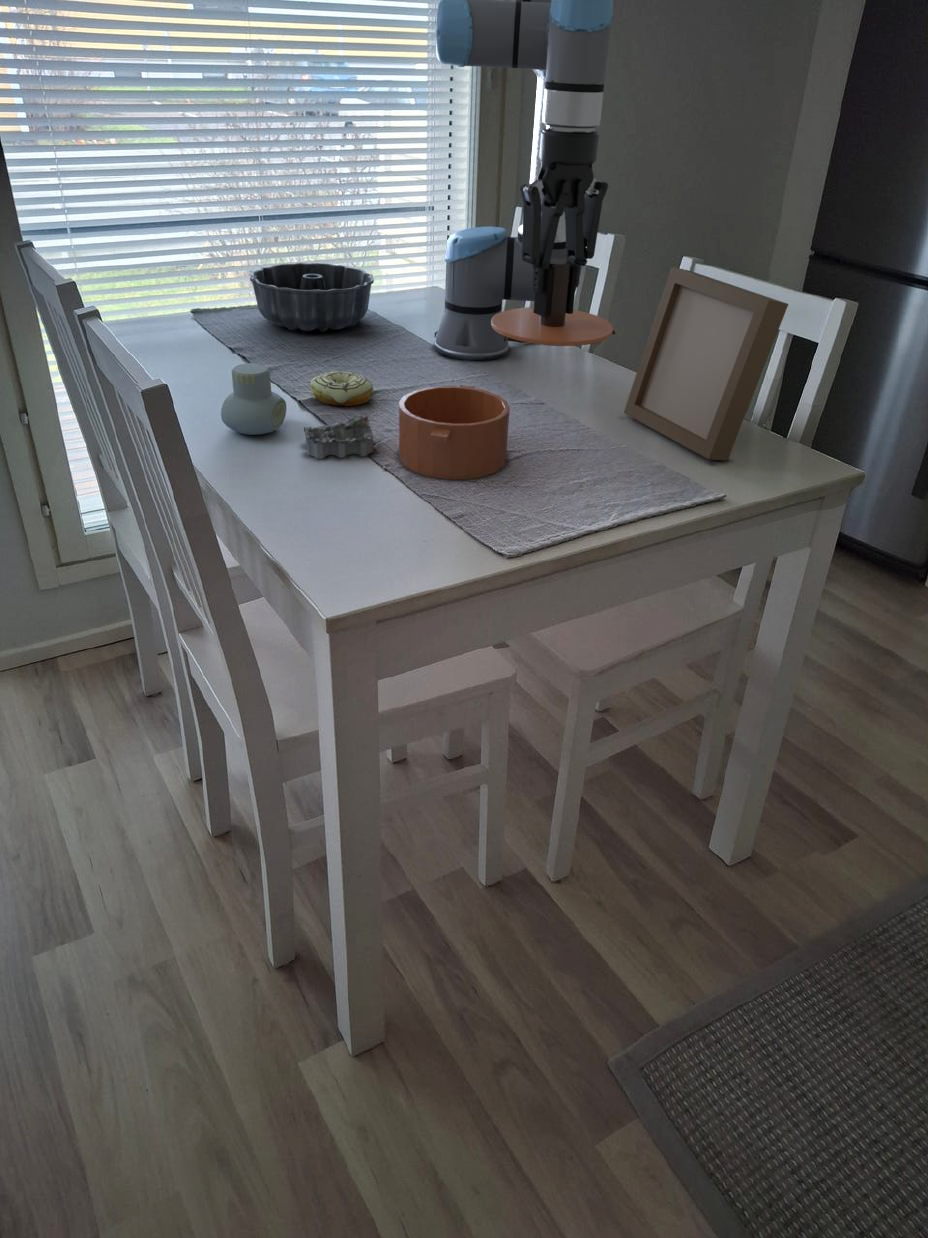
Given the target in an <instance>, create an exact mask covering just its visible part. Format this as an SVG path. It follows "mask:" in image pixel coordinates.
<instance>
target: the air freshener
mask: <svg viewBox="0 0 928 1238" xmlns="http://www.w3.org/2000/svg"><path fill="white" fill-rule="evenodd" d="M270 372H271V371H270V368H269V367H268V366H267V365H265V364H261V363H255V362H254V363H250V362H248V363H241V364H238V365H235V366H234V367H233V368H232V369H231V380H232V389H233V390H232V391H233V392H231V393H230V394H229V395H227V396H226V398H225V399H224V400H223V403H222V406H221V409H220V410H221V411H220V419H221V421H222V423H223V424H224V425H225V426H226V427H227V428H229V429H231V430H232V431H234V432H236V433H239V434H242V435H248V436H261V435H266V434H271V433H273V432H274V431H276V430H278V429H279V428H280V427H282V425H283V423H284V421H285V419H286V415H287V402H286V400H285V399H284V397H282V396H281V395H280V394H278V393H276V392H274V391H273V390H272V384H271V383H272V382H271V373H270Z"/></svg>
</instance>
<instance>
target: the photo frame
mask: <svg viewBox="0 0 928 1238" xmlns="http://www.w3.org/2000/svg"><path fill="white" fill-rule="evenodd" d="M788 307H789V303H787V302H784V301H781V300H778V299H774V298H773V297H769V296H766V295H763V294H760V293H757V292H754V291H751V290H748V289H746V288H743V287H739V286H737V285H734V284H730V283H727V282H725V281H722V280H718V279H715V278H713V277H710V276H707V275H704V274H701V273H698V272H695V271H692V270H688V269H684V268H680V267H676V266H671V267H670V271H669V274H668V276H667V280H666V283H665V286H664V289H663V292H662V295H661V298H660V301H659V304H658V307H657V310H656V313H655V316H654V319H653V322H652V325H651V328H650V332H649V335H648V338H647V340H646V343H645V347H644V349H643V351H642V352H643V353H642V356H641V359H640V362H639V363H638V368H637V371H636V374H635V377H634V380H633V383H632V386H631V390H630V392H629V395H628V399H627V401H626V404H625V407H624V411H623V414H625V415H627V416H629V417H631V418H632V419H634V420H636V421H638V422H640V423H641V424H643V425H645V426H647V427H649V428H650V429H652V430H654V431H656V432H658V433H660V434H662V436H665V437H667V438H669V439H670V440H673V441H674V442H677V443H678V444H680V445H682V446H683V447H685V448H687V449H689V450H691V451H692V452H694V453H696V454H698V455H700V456H701V457H703V458H706V459H707V460H713V461H726V462H727V461H728V460H729V458H730V455H731V453H732V450H733V448H734V444H735V442H736V439H737V437H738V434H739V431H740V430H741V428H742V424H743V422H744V419H745V417H746V414H747V411H748V409H749V406H750V404H751V402H752V398H753V396H754V393H755V391H756V388H757V386H758V383H759V381H760V379H761V375H762V373H763V370H764V368H765V365H766V363H767V360H768V358H769V355H770V353H771V350H772V347H773V345H774V343H775V340H776V338H777V335H778V332H779V330H780V327H781V324H782V322H783V319H784V316H785V314H786V312H787V309H788Z"/></svg>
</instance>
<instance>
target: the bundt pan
mask: <svg viewBox="0 0 928 1238" xmlns="http://www.w3.org/2000/svg"><path fill="white" fill-rule="evenodd" d="M249 281H250V282H251V283H252V287H253V292H254V296H255V300H256V301H255V302H256V304H257V308H258V311H259V313H260V315H261V316H262V317H263V318H264V319H265V320H267V321H268V322H270V323H272V324H274V325H276V326H279V327H282V328H287V330H289V331H296V330H298V329H299V330H301V331H304V332H312V331H314V330H318V331H320V332H322V333H325V332H326V331H328V330H329V329H330V330H334V331H336V330H337V331H338V330H342V329H345V328H346V329H347V328H352V327H354V326H356V324H358V323H359V322H360V321H361V320H362V319H363V318H364V317H365V316H366V314H367V311H368V309H369V303H370V296H371V289H372V285H373V284H374V282H375V278H374V277H373V274H372V273H369V272H367V271H365V270H364V269H361V268H357V267H350V266H347V265H346V264H333V263H326V262H325V263H323V262H309V263H308V262H295V263H278V264H273V265H270V266H262V267H259V269H256V270H253V271H251V272H250V277H249Z"/></svg>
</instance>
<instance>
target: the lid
mask: <svg viewBox="0 0 928 1238" xmlns="http://www.w3.org/2000/svg"><path fill="white" fill-rule="evenodd" d="M570 266H571V262H570V261H567V260H563V259H550V264H549V267H550V268H552V269H554V270H553V281H552V292H551V303H550V314H549V317H542V316H540V315H538V314H535V313H534V306H529V307H528V306H527V307H518V308H517V307H516V308H510V309H506V310H502V312H500V313H498V314H496V315H495V316H494V317H493V318H492V320H491V326H492V328H493V329H494V330H495V331H496V332H498V333H499V334H501V335H503V336H506V337H508V338H511V339H515V340H518V341H523V342H527V343H529V344H535V345H540V346H549V347H550V346H551V347H575V346H586V345H592V344H593V345H594V344H598V343H601V342H603V341H606V340H608V339H610V338H611V337H612V336H613V335H614V334H613V330H614V326H613V324H612V323H611V322H610V321H609V320H607V319H605V318H604V317H601V316H599V315H596V314H594V313H593V314H592V313H590V312H585V311H581V310H576V309H573V313H572V314H567V313H566V306H567V296H568V286H569V276H570Z"/></svg>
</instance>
